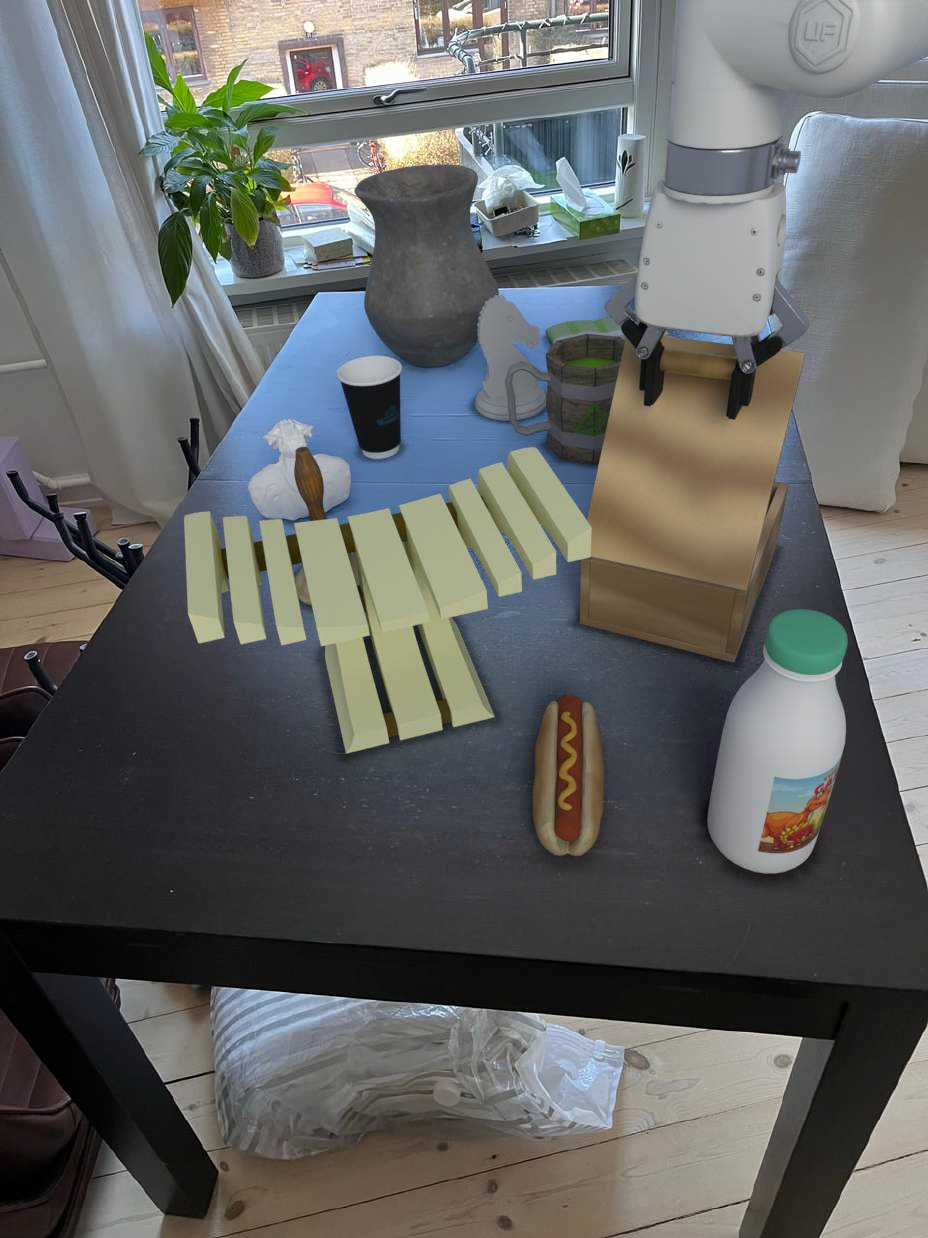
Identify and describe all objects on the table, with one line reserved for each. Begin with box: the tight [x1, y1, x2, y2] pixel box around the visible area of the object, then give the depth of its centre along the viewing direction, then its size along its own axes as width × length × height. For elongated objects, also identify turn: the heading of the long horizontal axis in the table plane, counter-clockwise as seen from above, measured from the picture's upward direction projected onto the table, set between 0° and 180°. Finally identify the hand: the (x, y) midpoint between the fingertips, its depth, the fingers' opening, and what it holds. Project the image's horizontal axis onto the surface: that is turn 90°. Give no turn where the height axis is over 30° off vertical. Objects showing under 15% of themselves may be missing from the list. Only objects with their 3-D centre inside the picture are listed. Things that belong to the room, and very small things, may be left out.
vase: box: [354, 163, 500, 368], centre depth 126 cm, size 20×19×25 cm
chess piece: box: [474, 294, 547, 422], centre depth 116 cm, size 10×10×15 cm
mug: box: [505, 334, 625, 466], centre depth 108 cm, size 16×11×12 cm
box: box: [578, 480, 790, 664], centre depth 86 cm, size 19×15×8 cm
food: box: [531, 694, 606, 857], centre depth 68 cm, size 14×6×5 cm, turn 174°
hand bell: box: [294, 446, 360, 607], centre depth 88 cm, size 8×8×16 cm
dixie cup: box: [336, 355, 403, 460], centre depth 110 cm, size 8×8×11 cm
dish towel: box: [545, 309, 674, 346], centre depth 128 cm, size 17×23×4 cm
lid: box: [586, 336, 806, 591], centre depth 74 cm, size 20×15×5 cm
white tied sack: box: [246, 418, 352, 521], centre depth 102 cm, size 12×8×11 cm
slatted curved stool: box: [183, 446, 592, 754], centre depth 76 cm, size 30×16×18 cm, turn 105°
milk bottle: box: [706, 608, 848, 874], centre depth 59 cm, size 8×8×20 cm
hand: (693, 403), depth 73 cm, fingers closed on lid, 6 cm apart
